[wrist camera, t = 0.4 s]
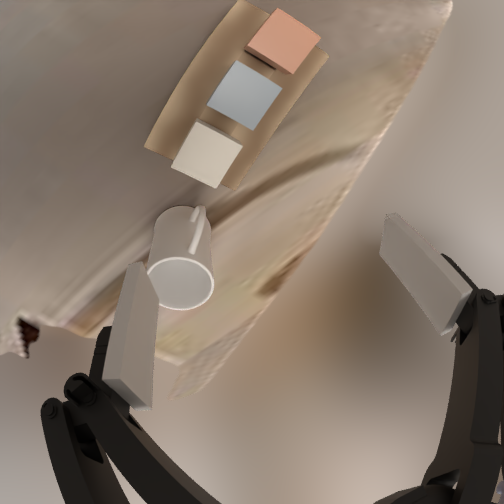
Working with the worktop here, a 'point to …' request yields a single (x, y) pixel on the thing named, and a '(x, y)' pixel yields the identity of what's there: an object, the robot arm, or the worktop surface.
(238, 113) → the slate key
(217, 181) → the ivory key
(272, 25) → the terracotta key
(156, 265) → the mug
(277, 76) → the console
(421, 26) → the worktop surface
